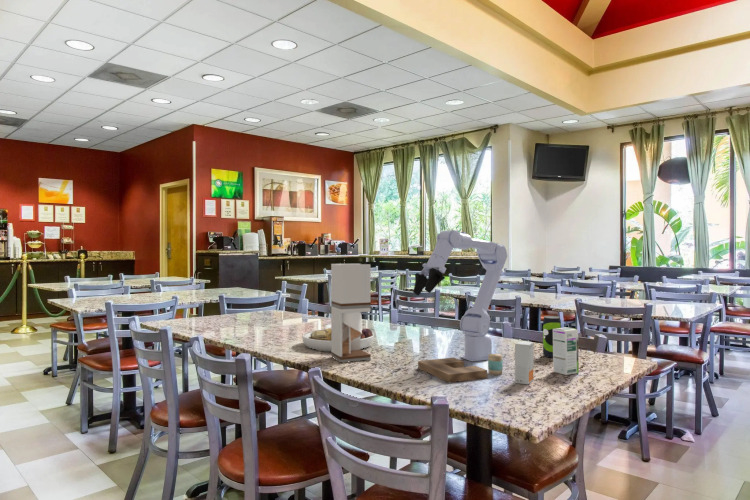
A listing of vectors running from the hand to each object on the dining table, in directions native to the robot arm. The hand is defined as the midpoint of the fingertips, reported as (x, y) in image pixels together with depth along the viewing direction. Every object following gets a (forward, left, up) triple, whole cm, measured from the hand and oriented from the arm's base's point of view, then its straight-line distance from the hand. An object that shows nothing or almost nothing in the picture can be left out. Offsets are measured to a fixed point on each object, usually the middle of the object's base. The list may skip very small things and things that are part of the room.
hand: (421, 292), depth 171 cm
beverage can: (-56, 0, -26) cm, 61 cm away
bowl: (+11, -52, -27) cm, 60 cm away
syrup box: (-43, +21, -26) cm, 54 cm away
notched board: (-8, +7, -26) cm, 28 cm away
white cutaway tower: (+15, -26, -26) cm, 40 cm away
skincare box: (-23, +25, -26) cm, 43 cm away
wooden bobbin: (-21, +13, -26) cm, 36 cm away
